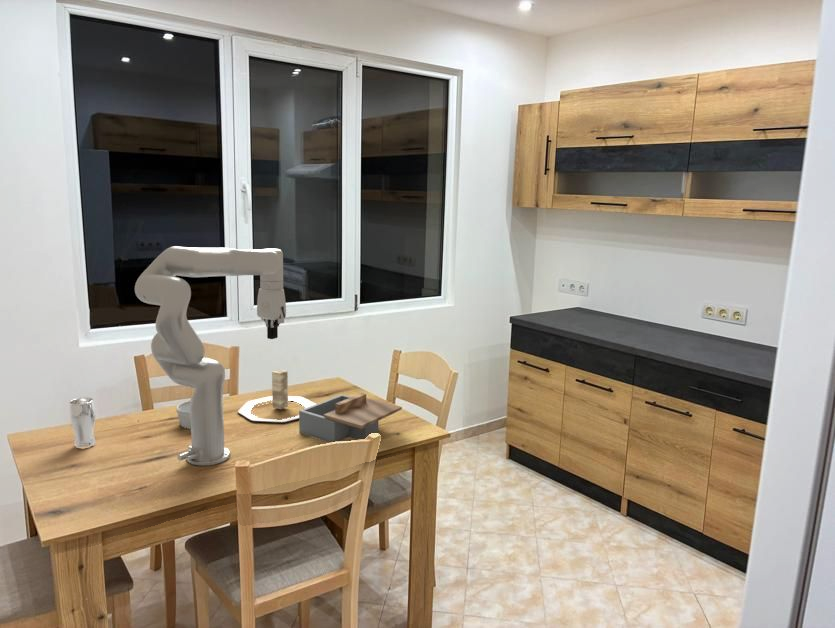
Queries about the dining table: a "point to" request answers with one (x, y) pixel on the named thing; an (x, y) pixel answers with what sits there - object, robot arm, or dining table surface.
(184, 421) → the ramekin
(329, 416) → the lid
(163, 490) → the dining table surface
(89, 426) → the beer glass
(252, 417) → the plate
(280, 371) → the rectangular block
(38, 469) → the dining table surface
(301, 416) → the toolbox
